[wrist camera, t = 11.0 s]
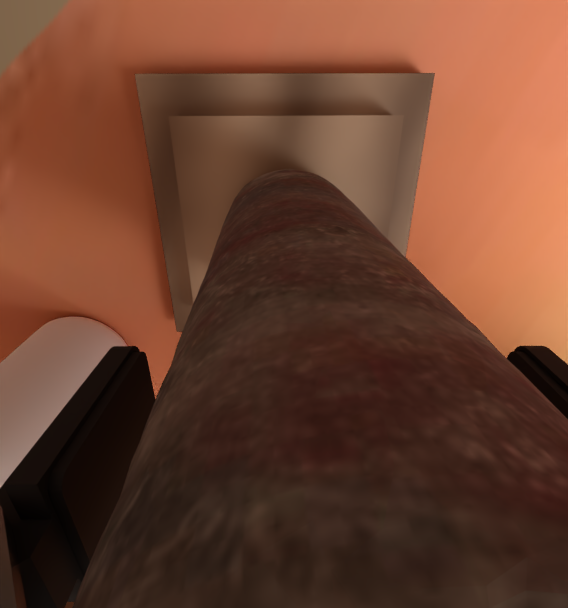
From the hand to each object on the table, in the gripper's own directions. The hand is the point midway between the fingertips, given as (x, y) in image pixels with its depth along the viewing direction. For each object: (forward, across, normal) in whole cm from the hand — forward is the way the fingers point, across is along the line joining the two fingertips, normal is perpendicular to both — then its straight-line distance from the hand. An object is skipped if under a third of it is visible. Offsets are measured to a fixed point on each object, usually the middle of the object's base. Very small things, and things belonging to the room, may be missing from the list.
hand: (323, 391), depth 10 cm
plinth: (+17, +1, -1) cm, 17 cm away
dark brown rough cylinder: (+14, +1, -1) cm, 14 cm away
